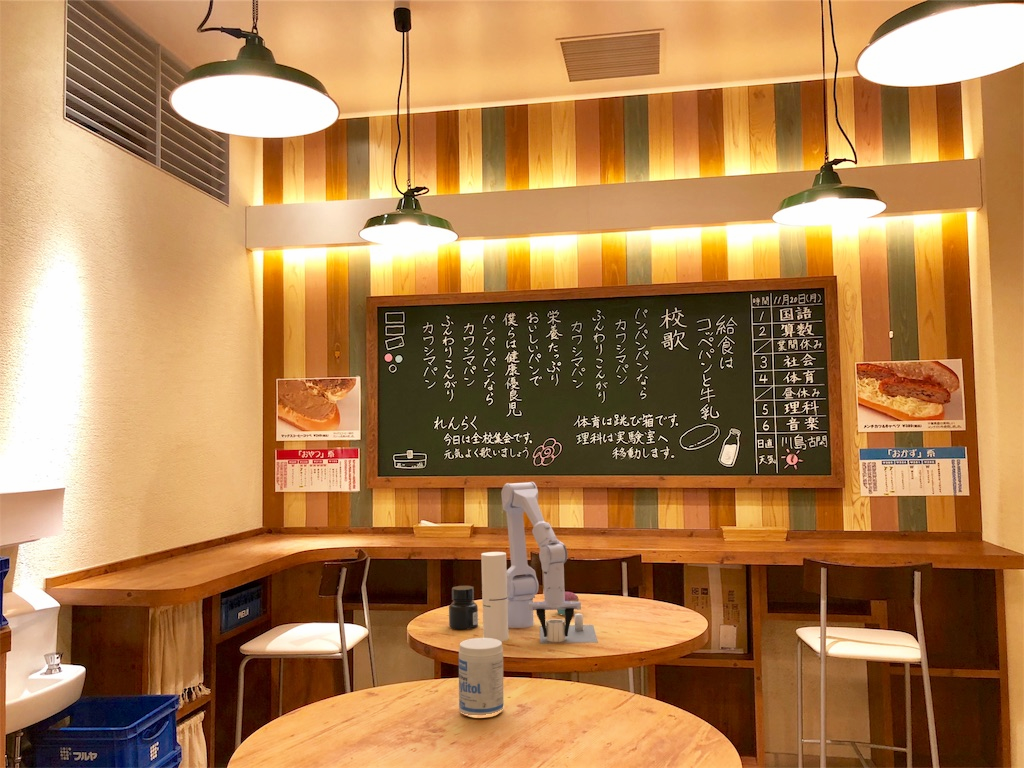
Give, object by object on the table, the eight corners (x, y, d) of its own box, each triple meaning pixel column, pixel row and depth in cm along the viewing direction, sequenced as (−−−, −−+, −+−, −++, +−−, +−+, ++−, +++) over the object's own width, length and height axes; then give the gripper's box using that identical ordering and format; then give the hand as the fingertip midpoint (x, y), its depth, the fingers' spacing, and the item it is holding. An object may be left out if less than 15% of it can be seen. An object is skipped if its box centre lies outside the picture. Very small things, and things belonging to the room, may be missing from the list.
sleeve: (546, 642, 225) (546, 623, 225) (546, 637, 230) (546, 619, 230) (565, 641, 224) (564, 623, 225) (564, 636, 230) (564, 619, 230)
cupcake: (548, 612, 265) (547, 575, 266) (571, 609, 268) (569, 573, 269) (560, 617, 257) (559, 579, 258) (583, 614, 261) (582, 577, 261)
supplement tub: (451, 717, 170) (449, 646, 171) (472, 703, 179) (470, 635, 180) (492, 723, 166) (490, 650, 167) (511, 708, 175) (509, 639, 176)
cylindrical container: (505, 646, 225) (503, 555, 227) (480, 645, 227) (478, 555, 228) (510, 639, 232) (508, 551, 234) (486, 638, 234) (484, 551, 235)
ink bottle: (482, 628, 246) (481, 589, 247) (454, 632, 243) (453, 591, 243) (472, 622, 255) (471, 583, 256) (445, 625, 252) (444, 586, 252)
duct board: (540, 647, 223) (539, 626, 223) (540, 629, 243) (539, 610, 243) (598, 645, 223) (597, 625, 223) (593, 628, 243) (592, 609, 243)
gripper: (528, 590, 224) (529, 639, 223) (580, 589, 224) (582, 638, 223) (528, 585, 231) (530, 633, 230) (579, 584, 231) (581, 632, 230)
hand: (555, 635), depth 227 cm, fingers open, 5 cm apart
